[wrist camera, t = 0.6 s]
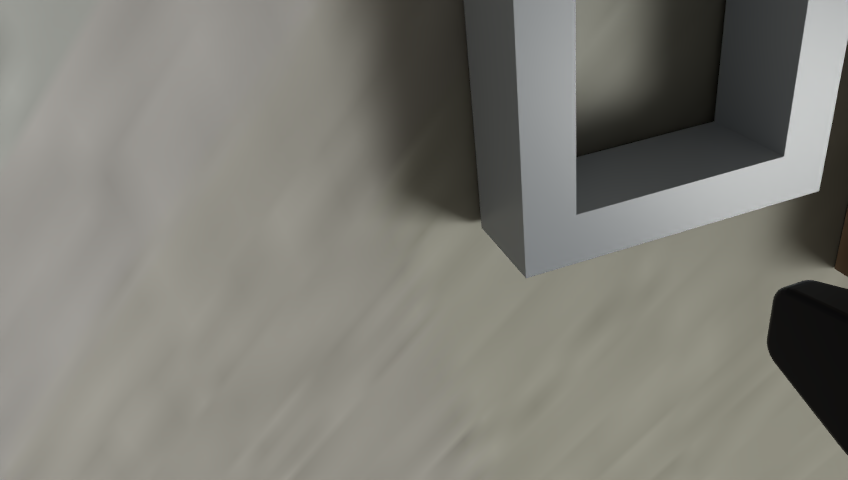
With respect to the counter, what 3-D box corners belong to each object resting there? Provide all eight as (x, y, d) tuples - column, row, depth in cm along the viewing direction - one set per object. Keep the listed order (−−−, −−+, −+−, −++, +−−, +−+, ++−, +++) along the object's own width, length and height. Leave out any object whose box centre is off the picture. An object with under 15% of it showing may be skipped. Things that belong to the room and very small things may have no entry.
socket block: (791, -177, 19) (888, -178, 17) (748, 153, 24) (819, 191, 22) (453, -124, 17) (507, -115, 15) (481, 227, 22) (525, 278, 20)
